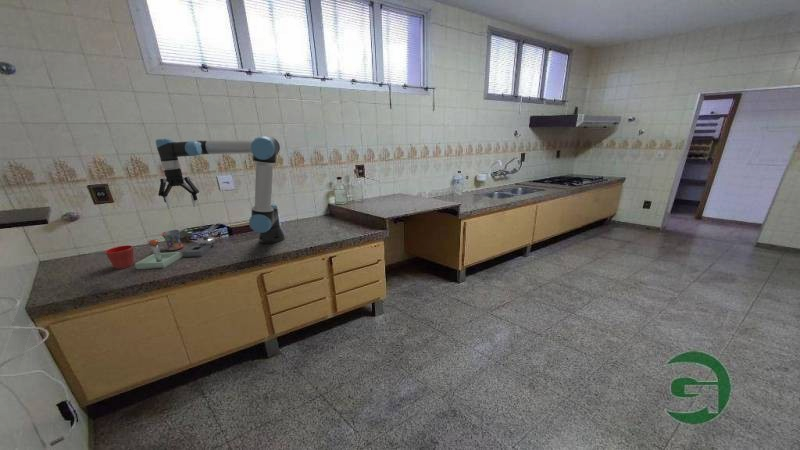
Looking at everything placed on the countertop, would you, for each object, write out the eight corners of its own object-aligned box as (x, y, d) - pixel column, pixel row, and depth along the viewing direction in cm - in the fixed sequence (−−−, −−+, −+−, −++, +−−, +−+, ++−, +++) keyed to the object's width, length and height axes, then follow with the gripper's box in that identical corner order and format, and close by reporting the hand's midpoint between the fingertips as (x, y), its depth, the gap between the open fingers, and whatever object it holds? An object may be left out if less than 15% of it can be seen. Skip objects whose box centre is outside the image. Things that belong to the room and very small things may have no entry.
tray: (181, 257, 168) (180, 252, 168) (164, 267, 155) (162, 262, 154) (156, 258, 168) (154, 253, 167) (136, 268, 155) (134, 263, 154)
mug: (182, 250, 179) (178, 233, 176) (163, 252, 175) (159, 235, 172) (186, 243, 189) (182, 227, 186) (169, 246, 186) (164, 230, 182)
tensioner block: (219, 243, 187) (217, 233, 185) (201, 256, 169) (198, 245, 167) (203, 244, 187) (201, 234, 185) (183, 256, 168) (180, 246, 166)
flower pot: (123, 261, 164) (118, 245, 161) (142, 261, 164) (137, 245, 161) (104, 270, 154) (98, 252, 151) (125, 270, 154) (119, 252, 151)
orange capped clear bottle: (166, 259, 163) (159, 239, 159) (160, 262, 159) (154, 241, 156) (158, 259, 163) (152, 239, 159) (153, 263, 159) (146, 242, 156)
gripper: (200, 166, 164) (209, 203, 170) (152, 169, 162) (164, 207, 169) (192, 168, 157) (202, 207, 163) (142, 171, 155) (154, 210, 162)
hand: (183, 207), depth 166 cm, fingers open, 13 cm apart
